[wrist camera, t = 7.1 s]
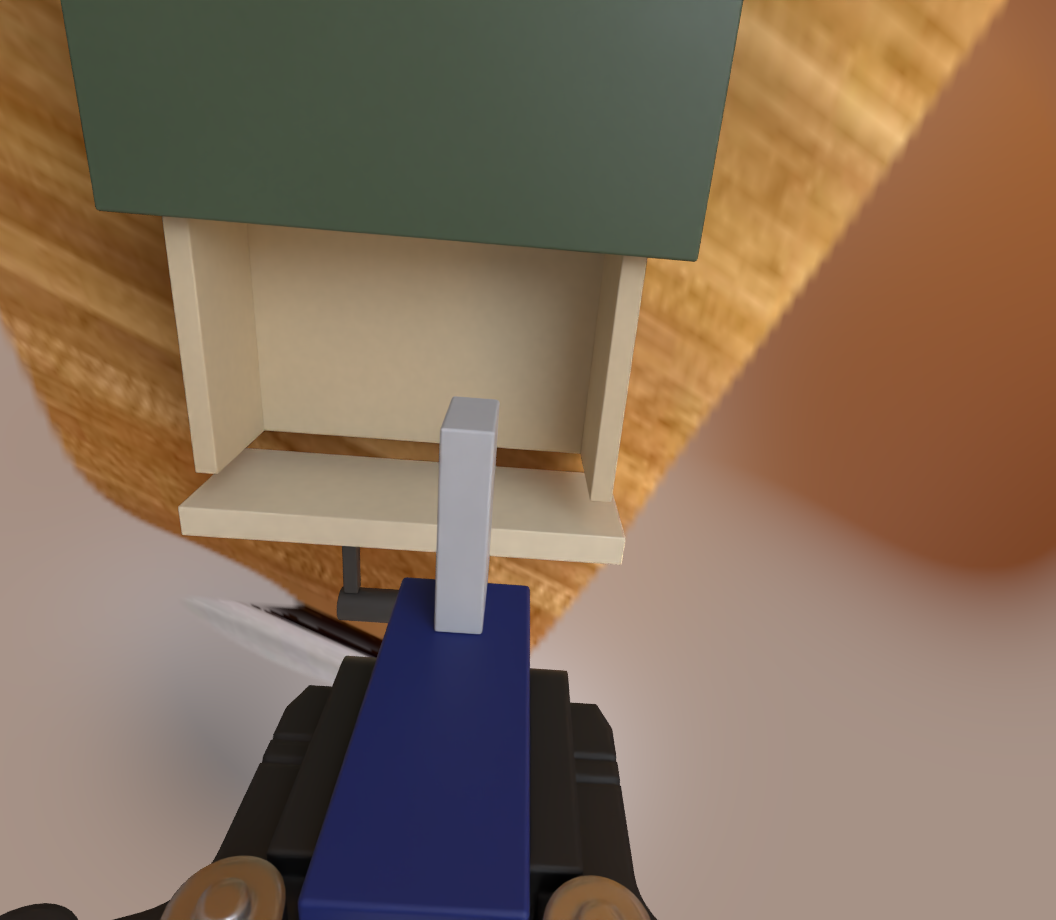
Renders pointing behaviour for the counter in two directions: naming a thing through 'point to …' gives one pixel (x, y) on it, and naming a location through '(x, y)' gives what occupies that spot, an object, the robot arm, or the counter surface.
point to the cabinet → (411, 116)
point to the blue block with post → (439, 728)
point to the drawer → (398, 385)
